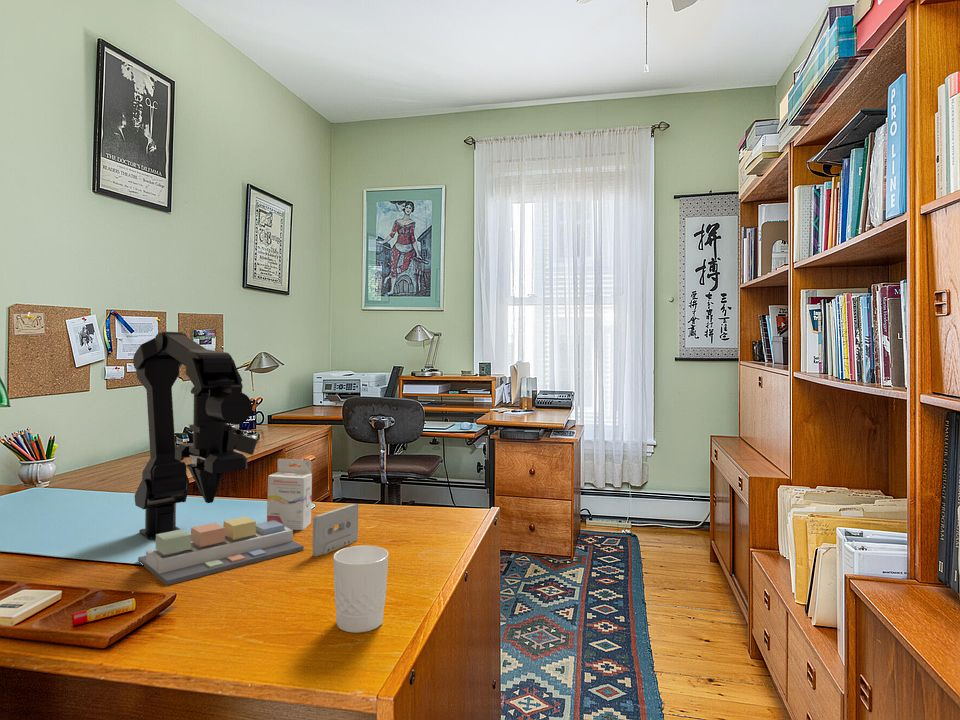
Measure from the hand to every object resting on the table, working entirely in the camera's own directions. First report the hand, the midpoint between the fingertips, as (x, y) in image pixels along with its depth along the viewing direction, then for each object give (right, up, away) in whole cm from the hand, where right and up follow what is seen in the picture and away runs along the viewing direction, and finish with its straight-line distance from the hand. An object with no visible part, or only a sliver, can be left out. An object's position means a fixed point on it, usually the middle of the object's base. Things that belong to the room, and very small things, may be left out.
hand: (209, 502), depth 108 cm
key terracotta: (0, -7, 0) cm, 7 cm away
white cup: (+33, -12, -24) cm, 42 cm away
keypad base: (+2, -11, +2) cm, 11 cm away
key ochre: (+4, -7, +4) cm, 9 cm away
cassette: (+22, -11, +8) cm, 26 cm away
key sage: (-4, -7, -4) cm, 10 cm away
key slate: (+8, -9, +9) cm, 15 cm away
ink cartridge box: (+8, -11, +21) cm, 25 cm away
